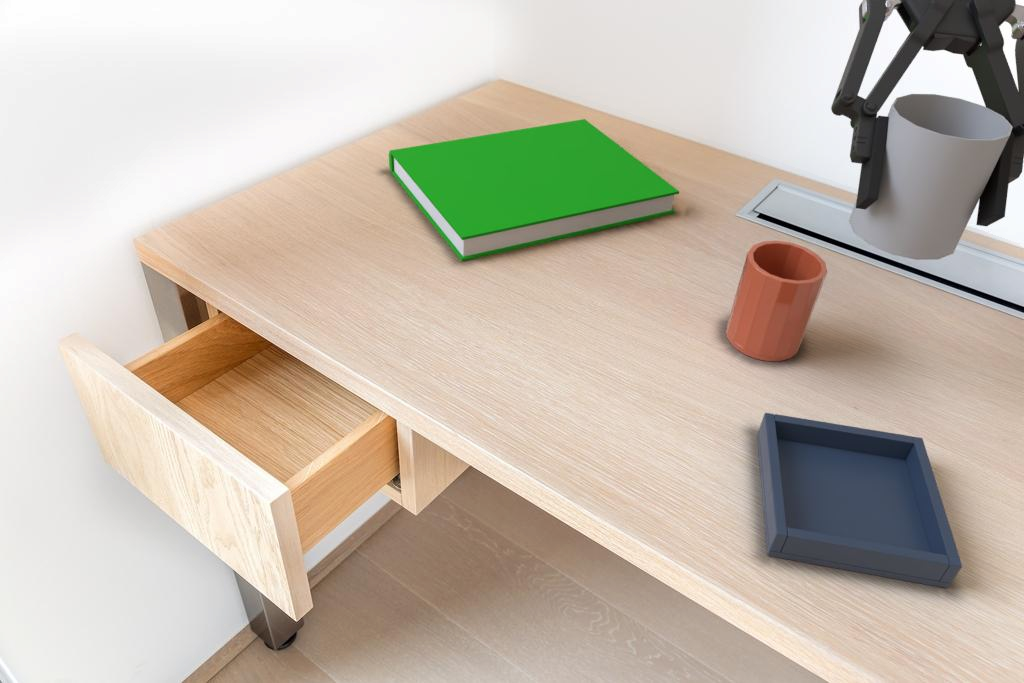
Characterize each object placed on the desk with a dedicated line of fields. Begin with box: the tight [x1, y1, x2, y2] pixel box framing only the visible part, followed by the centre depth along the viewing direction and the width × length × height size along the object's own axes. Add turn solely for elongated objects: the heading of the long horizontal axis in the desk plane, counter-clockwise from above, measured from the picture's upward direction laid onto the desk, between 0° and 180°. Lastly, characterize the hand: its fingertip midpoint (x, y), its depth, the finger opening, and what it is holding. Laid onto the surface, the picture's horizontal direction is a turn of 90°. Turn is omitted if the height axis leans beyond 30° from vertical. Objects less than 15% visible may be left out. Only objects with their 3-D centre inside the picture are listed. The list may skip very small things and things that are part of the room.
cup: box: [848, 93, 1013, 261], centre depth 62 cm, size 8×8×10 cm
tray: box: [756, 412, 963, 589], centre depth 61 cm, size 13×13×3 cm
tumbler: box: [725, 240, 828, 362], centre depth 75 cm, size 7×7×9 cm
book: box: [388, 118, 680, 262], centre depth 97 cm, size 22×28×3 cm
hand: (927, 212), depth 60 cm, fingers closed on cup, 8 cm apart
